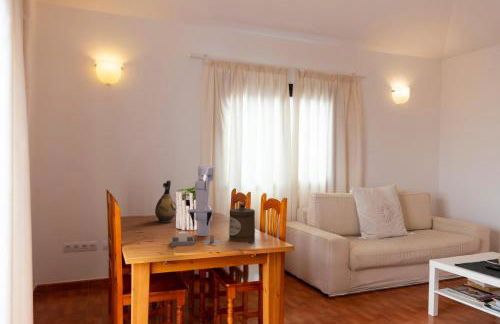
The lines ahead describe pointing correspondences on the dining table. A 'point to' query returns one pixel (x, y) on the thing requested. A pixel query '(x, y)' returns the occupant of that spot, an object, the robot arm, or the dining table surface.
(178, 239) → the bin
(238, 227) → the wooden container
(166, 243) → the dining table surface
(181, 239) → the block
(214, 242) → the stud block
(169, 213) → the ceramic jug
